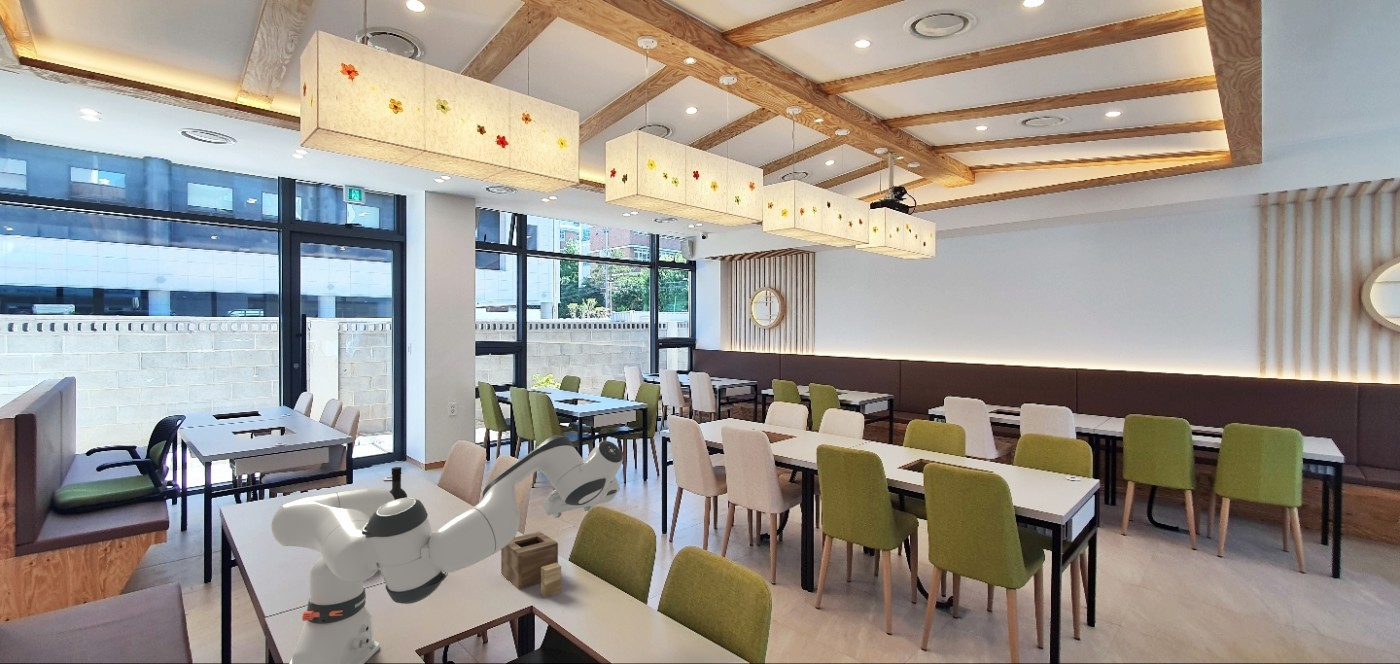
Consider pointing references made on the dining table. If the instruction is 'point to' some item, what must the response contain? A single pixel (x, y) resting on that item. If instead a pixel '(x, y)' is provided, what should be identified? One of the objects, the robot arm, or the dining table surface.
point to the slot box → (527, 558)
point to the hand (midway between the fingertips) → (571, 512)
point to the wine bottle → (397, 484)
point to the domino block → (550, 579)
